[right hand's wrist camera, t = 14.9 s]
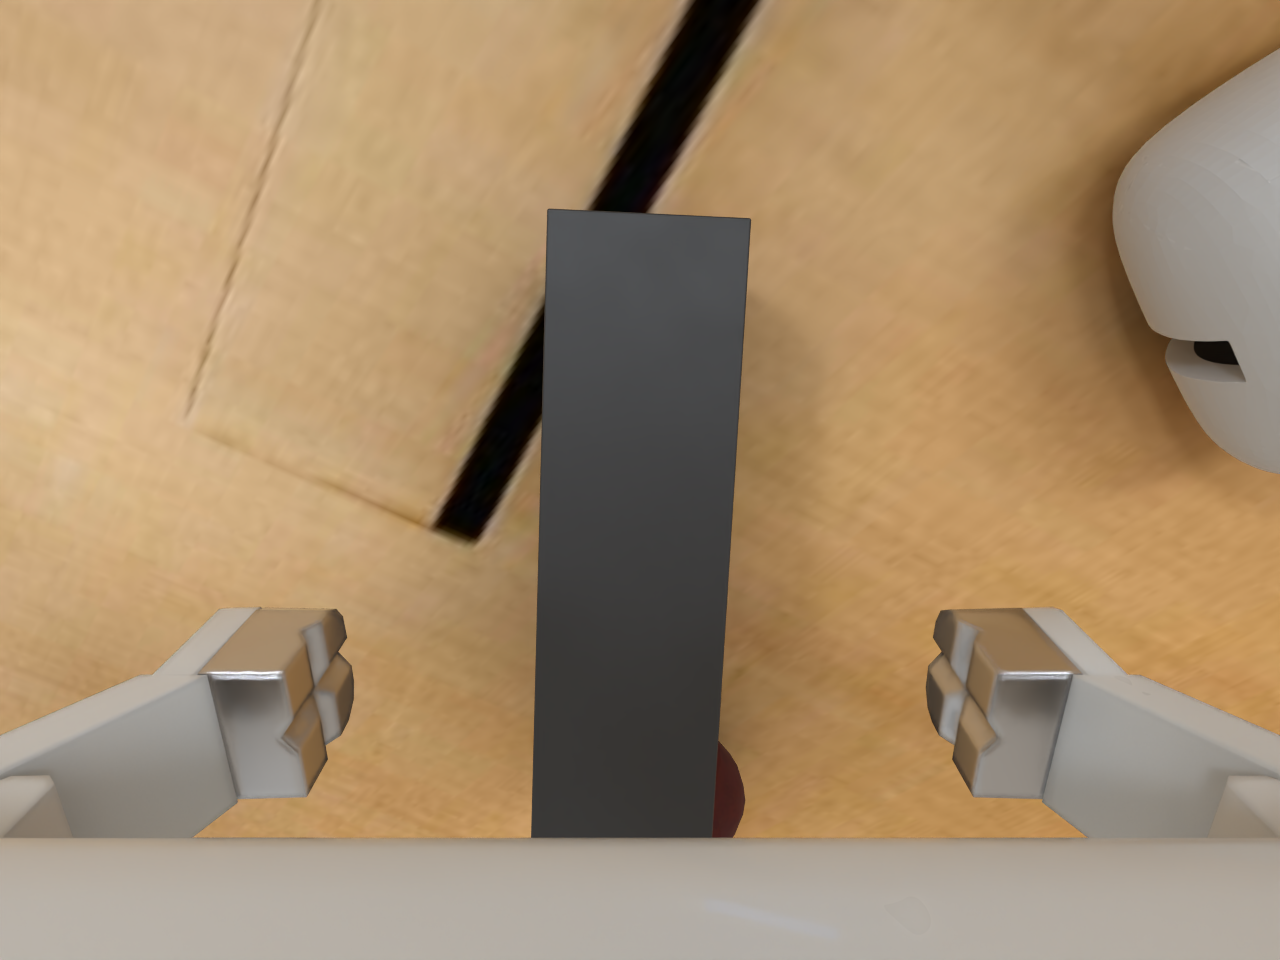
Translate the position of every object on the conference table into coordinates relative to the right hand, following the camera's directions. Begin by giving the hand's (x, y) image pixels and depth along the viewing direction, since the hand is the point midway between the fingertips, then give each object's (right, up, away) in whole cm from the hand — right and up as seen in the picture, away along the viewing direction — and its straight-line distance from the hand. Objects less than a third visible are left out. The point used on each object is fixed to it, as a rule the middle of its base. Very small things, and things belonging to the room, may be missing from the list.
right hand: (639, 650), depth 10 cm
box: (0, 0, +25) cm, 25 cm away
